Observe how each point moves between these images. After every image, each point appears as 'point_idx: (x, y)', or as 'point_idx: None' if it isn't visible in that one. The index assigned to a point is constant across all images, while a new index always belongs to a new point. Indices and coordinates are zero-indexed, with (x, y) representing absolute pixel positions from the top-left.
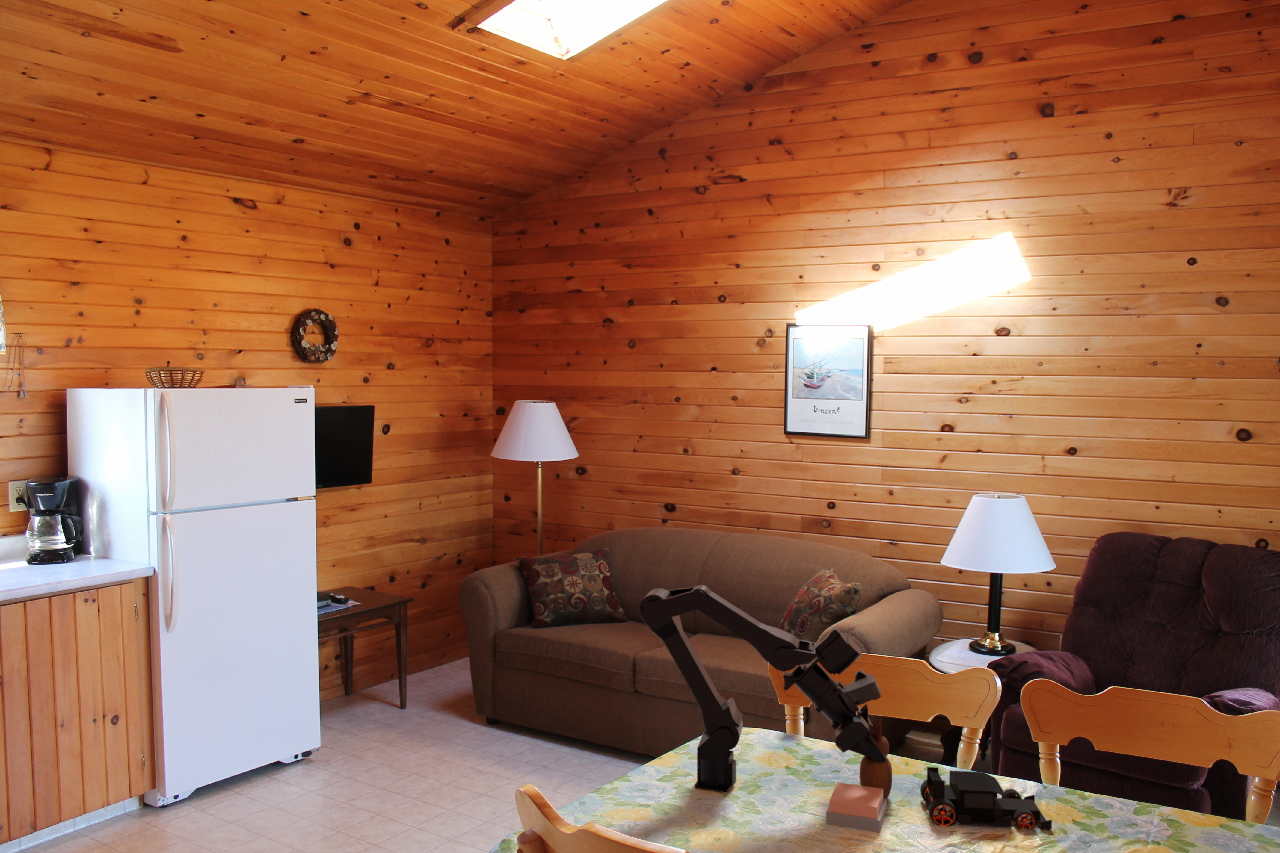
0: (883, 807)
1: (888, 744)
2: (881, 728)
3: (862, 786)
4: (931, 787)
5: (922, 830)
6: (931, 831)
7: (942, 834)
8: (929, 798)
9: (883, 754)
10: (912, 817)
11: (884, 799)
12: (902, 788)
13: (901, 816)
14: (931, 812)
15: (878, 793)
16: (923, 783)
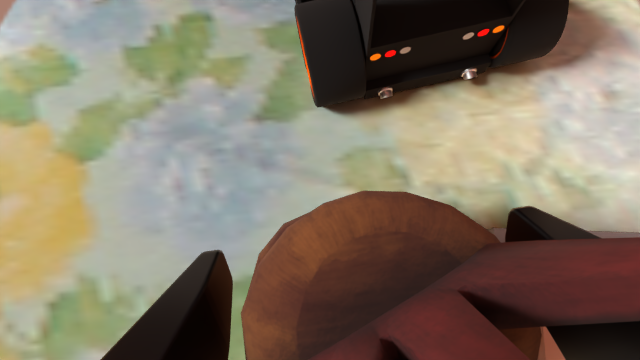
0: (590, 232)
1: (375, 191)
2: (628, 240)
3: (553, 356)
4: (397, 29)
5: (590, 92)
6: (583, 64)
7: (589, 31)
8: (421, 56)
9: (561, 226)
10: (494, 133)
11: (499, 236)
12: (234, 189)
13: (503, 171)
14: (556, 41)
15: None
16: (324, 74)
